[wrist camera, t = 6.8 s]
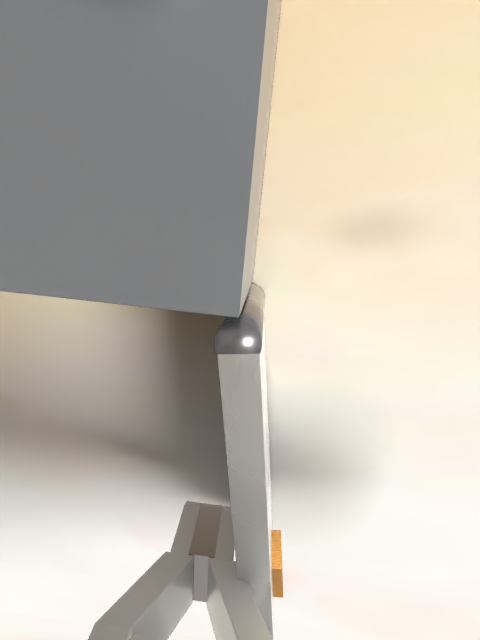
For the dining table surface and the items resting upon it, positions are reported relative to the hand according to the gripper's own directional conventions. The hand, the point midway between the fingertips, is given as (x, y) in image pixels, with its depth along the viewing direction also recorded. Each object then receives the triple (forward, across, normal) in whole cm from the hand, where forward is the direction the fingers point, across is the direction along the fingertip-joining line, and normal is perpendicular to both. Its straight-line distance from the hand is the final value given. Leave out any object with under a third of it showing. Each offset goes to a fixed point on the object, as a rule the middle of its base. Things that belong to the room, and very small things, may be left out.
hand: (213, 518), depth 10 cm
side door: (+2, -1, -3) cm, 4 cm away
